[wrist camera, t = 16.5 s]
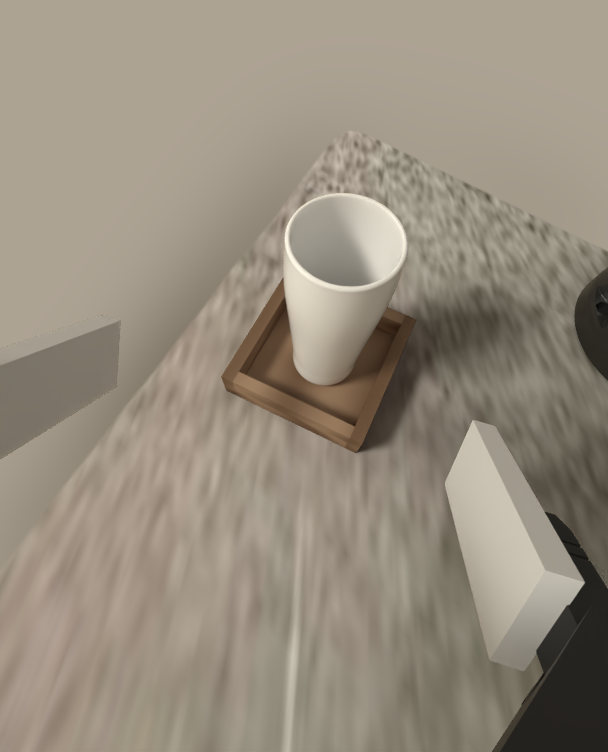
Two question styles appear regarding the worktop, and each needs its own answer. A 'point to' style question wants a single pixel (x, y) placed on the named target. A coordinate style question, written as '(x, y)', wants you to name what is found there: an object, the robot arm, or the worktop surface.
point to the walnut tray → (307, 400)
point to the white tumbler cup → (339, 280)
